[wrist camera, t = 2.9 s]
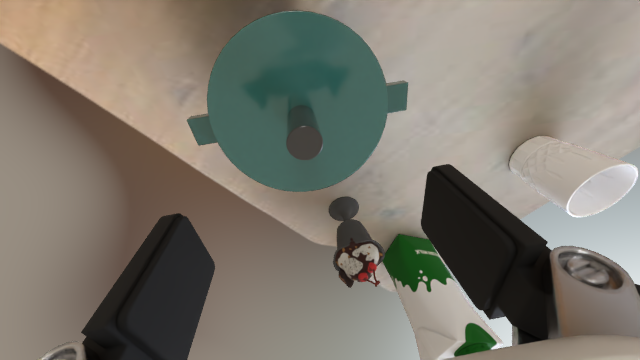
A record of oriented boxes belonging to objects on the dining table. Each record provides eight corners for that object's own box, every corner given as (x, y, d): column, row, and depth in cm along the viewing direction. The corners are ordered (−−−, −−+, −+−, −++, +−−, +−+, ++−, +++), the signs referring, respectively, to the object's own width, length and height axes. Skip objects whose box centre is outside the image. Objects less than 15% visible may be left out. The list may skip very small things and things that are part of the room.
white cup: (496, 177, 38) (554, 219, 30) (519, 131, 34) (594, 164, 26) (539, 176, 39) (607, 215, 31) (567, 131, 35) (655, 162, 26)
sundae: (359, 186, 36) (397, 270, 24) (366, 217, 40) (401, 304, 27) (318, 198, 36) (334, 286, 24) (329, 228, 40) (347, 317, 28)
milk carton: (435, 236, 44) (524, 361, 28) (411, 267, 49) (475, 390, 32) (396, 229, 42) (467, 360, 25) (374, 261, 46) (423, 392, 30)
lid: (177, 29, 16) (124, 28, 11) (384, -4, 16) (428, -21, 11) (243, 196, 24) (231, 241, 19) (382, 171, 24) (407, 210, 19)
